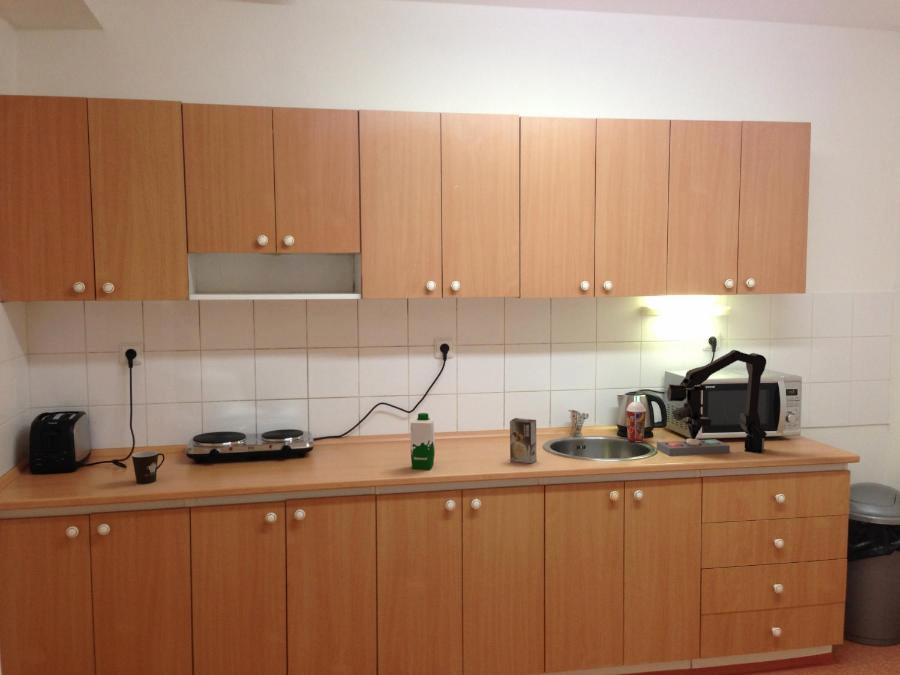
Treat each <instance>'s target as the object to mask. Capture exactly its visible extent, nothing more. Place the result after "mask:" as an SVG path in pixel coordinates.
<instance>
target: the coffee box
mask: <svg viewBox="0 0 900 675" xmlns="http://www.w3.org/2000/svg"><path fill="white" fill-rule="evenodd" d="M509 457H510V458H509V460H510V462H516V463H525V464H533V463H534V462H536V461H537V460H538V459H537V457H538V456H537V420H536V419H532V418H531V419H530V418H518V417H514V418H513V419H510V421H509Z"/></svg>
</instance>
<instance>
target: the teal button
mask: <svg viewBox="0 0 900 675" xmlns="http://www.w3.org/2000/svg"><path fill="white" fill-rule="evenodd" d="M705 444H707V445H716V444H718V442H716V441H705Z"/></svg>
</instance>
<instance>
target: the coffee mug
mask: <svg viewBox="0 0 900 675" xmlns="http://www.w3.org/2000/svg"><path fill="white" fill-rule="evenodd" d="M159 456H162V459H161V462H160V463H159V465H158V462H159V459H158V458H159ZM131 458H132V463H133V464H132V465H133V470H134V475H135V480H136V481H135V482H136V484H138V485H149V484H153V483H155V482H157V472H158V469H159V468H160V467H161V466H162V465H163V463H164V461H165V459H166V458H165V455H164V453H159V452H158V451H155V450H143V451H139V452H135V453H134V452H133V453H132V454H131Z"/></svg>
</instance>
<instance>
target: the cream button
mask: <svg viewBox="0 0 900 675" xmlns="http://www.w3.org/2000/svg"><path fill="white" fill-rule="evenodd" d="M699 440H700V439H697V438H695V439H691V438H686V440H685V441H686V444H687V445H689V446H696V445H699Z"/></svg>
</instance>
